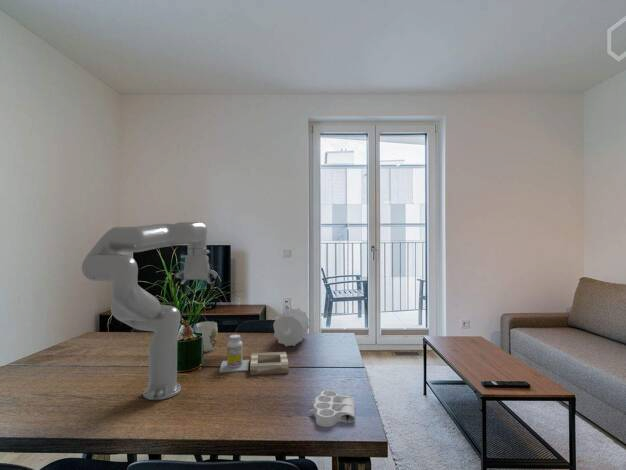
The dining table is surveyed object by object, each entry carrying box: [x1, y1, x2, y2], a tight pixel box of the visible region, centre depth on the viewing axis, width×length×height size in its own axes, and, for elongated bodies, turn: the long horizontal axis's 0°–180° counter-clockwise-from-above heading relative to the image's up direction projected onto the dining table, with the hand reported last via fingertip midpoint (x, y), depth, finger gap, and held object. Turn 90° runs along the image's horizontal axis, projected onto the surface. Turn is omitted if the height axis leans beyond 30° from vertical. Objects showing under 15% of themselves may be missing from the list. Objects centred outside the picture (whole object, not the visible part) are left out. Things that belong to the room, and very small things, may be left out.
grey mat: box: [218, 359, 250, 373], centre depth 145 cm, size 12×12×1 cm
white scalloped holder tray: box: [309, 389, 356, 428], centre depth 107 cm, size 3×18×15 cm
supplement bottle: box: [226, 334, 244, 368], centre depth 145 cm, size 7×7×13 cm
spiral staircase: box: [272, 307, 310, 347], centre depth 182 cm, size 18×18×25 cm
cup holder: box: [249, 351, 290, 376], centre depth 146 cm, size 16×16×4 cm
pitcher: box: [195, 321, 219, 353], centre depth 169 cm, size 11×18×14 cm, turn 166°
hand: (196, 293), depth 140 cm, fingers open, 9 cm apart
